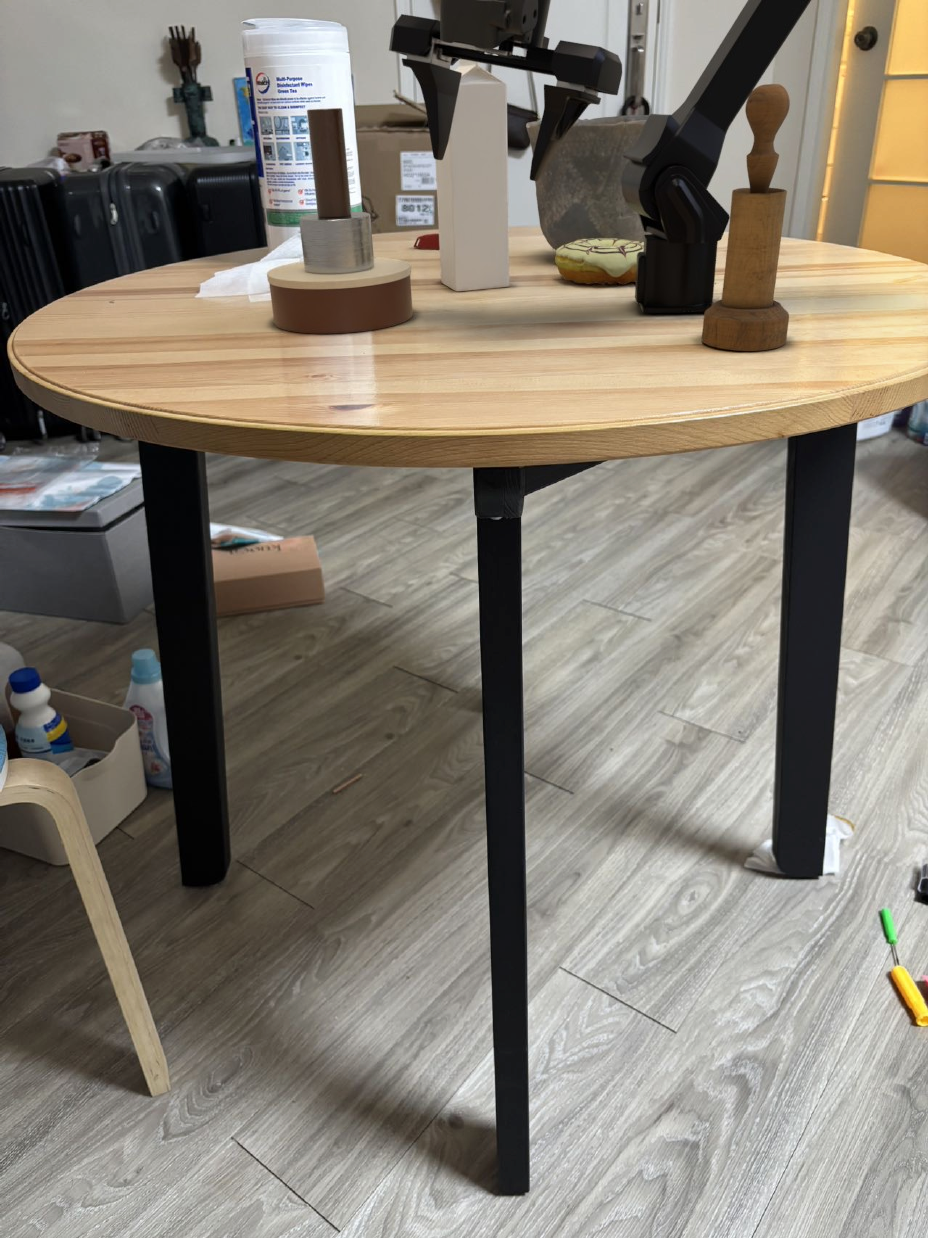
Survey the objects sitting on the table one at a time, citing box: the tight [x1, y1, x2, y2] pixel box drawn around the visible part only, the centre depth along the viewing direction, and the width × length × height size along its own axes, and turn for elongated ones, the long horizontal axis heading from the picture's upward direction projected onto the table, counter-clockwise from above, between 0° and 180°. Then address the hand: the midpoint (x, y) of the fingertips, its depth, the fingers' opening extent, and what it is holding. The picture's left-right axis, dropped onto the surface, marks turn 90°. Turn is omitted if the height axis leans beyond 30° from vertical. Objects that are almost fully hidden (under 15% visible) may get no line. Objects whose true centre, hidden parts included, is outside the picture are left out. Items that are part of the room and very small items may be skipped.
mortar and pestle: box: [701, 83, 791, 352], centre depth 73 cm, size 7×6×18 cm
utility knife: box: [413, 233, 440, 250], centre depth 127 cm, size 12×1×2 cm, turn 69°
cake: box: [266, 256, 414, 335], centre depth 90 cm, size 13×13×4 cm
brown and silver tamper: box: [298, 107, 375, 274], centre depth 86 cm, size 6×6×13 cm
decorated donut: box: [554, 238, 644, 286], centre depth 103 cm, size 10×11×4 cm
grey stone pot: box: [525, 113, 664, 251], centre depth 114 cm, size 18×18×15 cm
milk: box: [434, 59, 510, 293], centre depth 99 cm, size 6×6×22 cm
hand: (484, 169), depth 82 cm, fingers open, 9 cm apart
